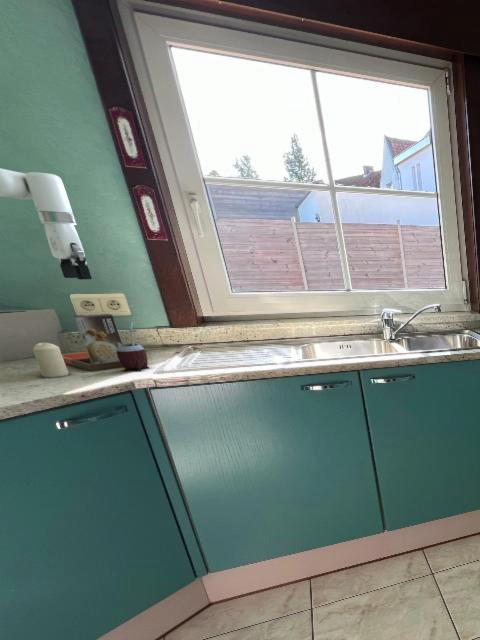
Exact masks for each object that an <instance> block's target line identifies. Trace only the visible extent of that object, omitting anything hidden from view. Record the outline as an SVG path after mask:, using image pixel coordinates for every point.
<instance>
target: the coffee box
mask: <svg viewBox="0 0 480 640" xmlns="http://www.w3.org/2000/svg"><path fill="white" fill-rule="evenodd" d="M73 318H74V321H75V323H76V326H77V329H78V331H79V334H80V337H81V340H82V343H83V345H84V348H85V350H86V352H87V353H88V356H89V358H90V361H91V364H99V363H107V362H115V361H119V359H118V357H117V351H116V350H117V347H118V346H119V345H124V344H123V341H122V338H121V334H120V332H119V329H118V327H117V323H116V321H115V318H114V315H113V314H112V313H101V314H100V313H99V314H97V313H96V314H77V315H76V314H75V315H73Z"/></svg>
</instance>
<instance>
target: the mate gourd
mask: <svg viewBox="0 0 480 640" xmlns="http://www.w3.org/2000/svg"><path fill="white" fill-rule="evenodd" d="M133 325H134V321H133V320H131V322H130V324H129V332H130V338H131V343H127V344H123V345H119V346H118V347H117V350H116V351H117V357H118V359H119V361H120V363H121V364H122V366H123V367H122V368H124V369H123V371H124V372H128V371H129V372H130V371H137V372H142V370H146V369H150V367H149V366H148V355H147V352H146V350H145V348H144V347H143V346H142V345H141V344H139V343H135V339H134V329H133Z"/></svg>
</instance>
